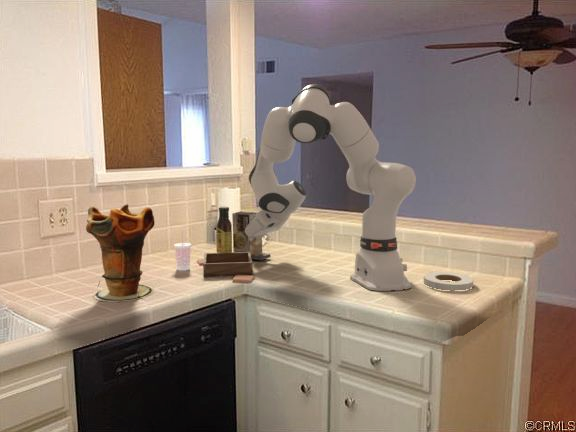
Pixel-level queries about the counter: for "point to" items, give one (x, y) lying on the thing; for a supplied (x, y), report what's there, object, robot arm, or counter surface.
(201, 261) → the tile
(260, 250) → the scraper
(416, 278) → the counter surface
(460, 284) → the roll of tape
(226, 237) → the sauce bottle
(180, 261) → the beverage cup
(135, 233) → the decorative vase
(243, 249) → the coffee box
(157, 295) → the counter surface
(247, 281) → the tile
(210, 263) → the box
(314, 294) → the counter surface
